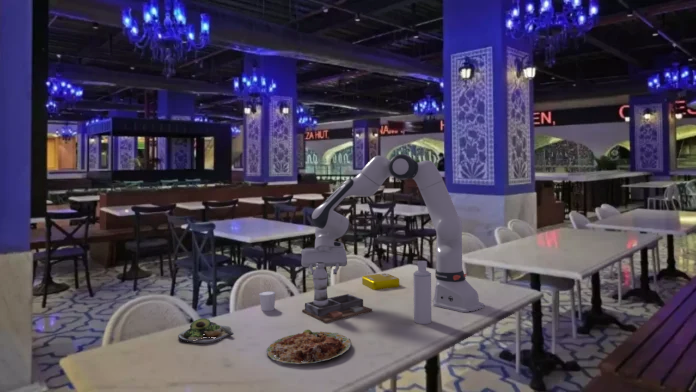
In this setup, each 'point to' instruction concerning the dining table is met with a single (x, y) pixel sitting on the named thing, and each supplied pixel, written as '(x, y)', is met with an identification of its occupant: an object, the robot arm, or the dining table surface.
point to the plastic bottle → (320, 286)
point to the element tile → (380, 281)
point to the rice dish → (308, 347)
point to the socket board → (337, 308)
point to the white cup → (267, 300)
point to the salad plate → (205, 331)
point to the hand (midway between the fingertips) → (324, 273)
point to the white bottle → (422, 294)
